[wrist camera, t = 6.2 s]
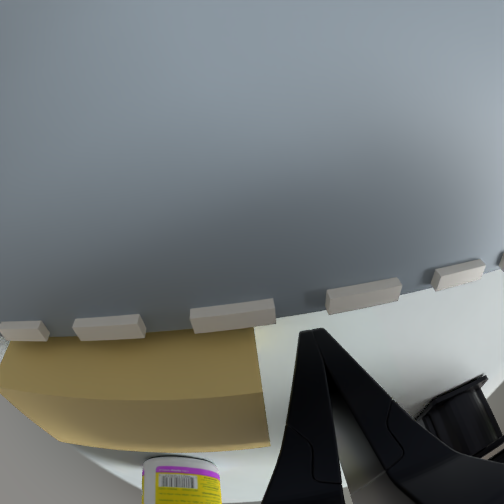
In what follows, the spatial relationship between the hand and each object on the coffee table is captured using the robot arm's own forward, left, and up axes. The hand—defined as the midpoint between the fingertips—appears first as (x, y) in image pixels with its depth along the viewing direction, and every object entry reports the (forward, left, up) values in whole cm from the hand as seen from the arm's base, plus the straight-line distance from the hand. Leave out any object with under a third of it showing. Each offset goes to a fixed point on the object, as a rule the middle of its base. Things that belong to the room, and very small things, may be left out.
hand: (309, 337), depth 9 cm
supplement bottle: (+10, +19, -2) cm, 21 cm away
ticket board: (+1, -7, -1) cm, 8 cm away
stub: (+6, 0, -1) cm, 6 cm away
